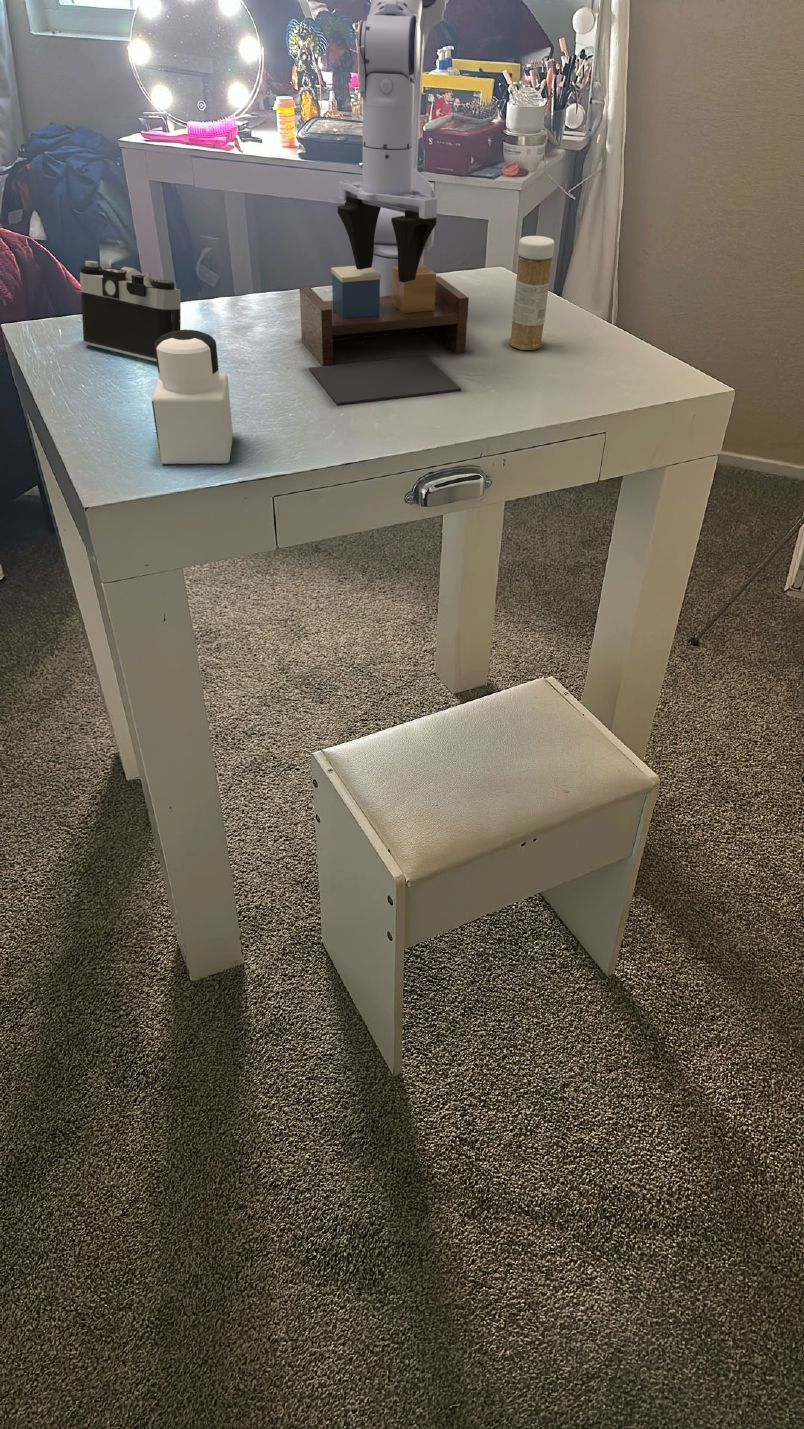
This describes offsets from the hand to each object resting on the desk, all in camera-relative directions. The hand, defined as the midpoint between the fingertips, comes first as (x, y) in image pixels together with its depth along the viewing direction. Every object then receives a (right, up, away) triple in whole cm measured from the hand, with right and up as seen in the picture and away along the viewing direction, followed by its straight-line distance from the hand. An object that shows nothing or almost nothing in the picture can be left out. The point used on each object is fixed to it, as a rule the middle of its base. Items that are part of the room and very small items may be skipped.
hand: (385, 274), depth 115 cm
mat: (0, -12, +2) cm, 13 cm away
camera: (-32, -5, +9) cm, 34 cm away
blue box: (-4, -2, +7) cm, 8 cm away
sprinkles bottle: (+19, -4, +13) cm, 24 cm away
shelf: (-1, -4, +11) cm, 12 cm away
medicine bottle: (-20, -26, -15) cm, 36 cm away
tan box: (+4, 0, +9) cm, 10 cm away
